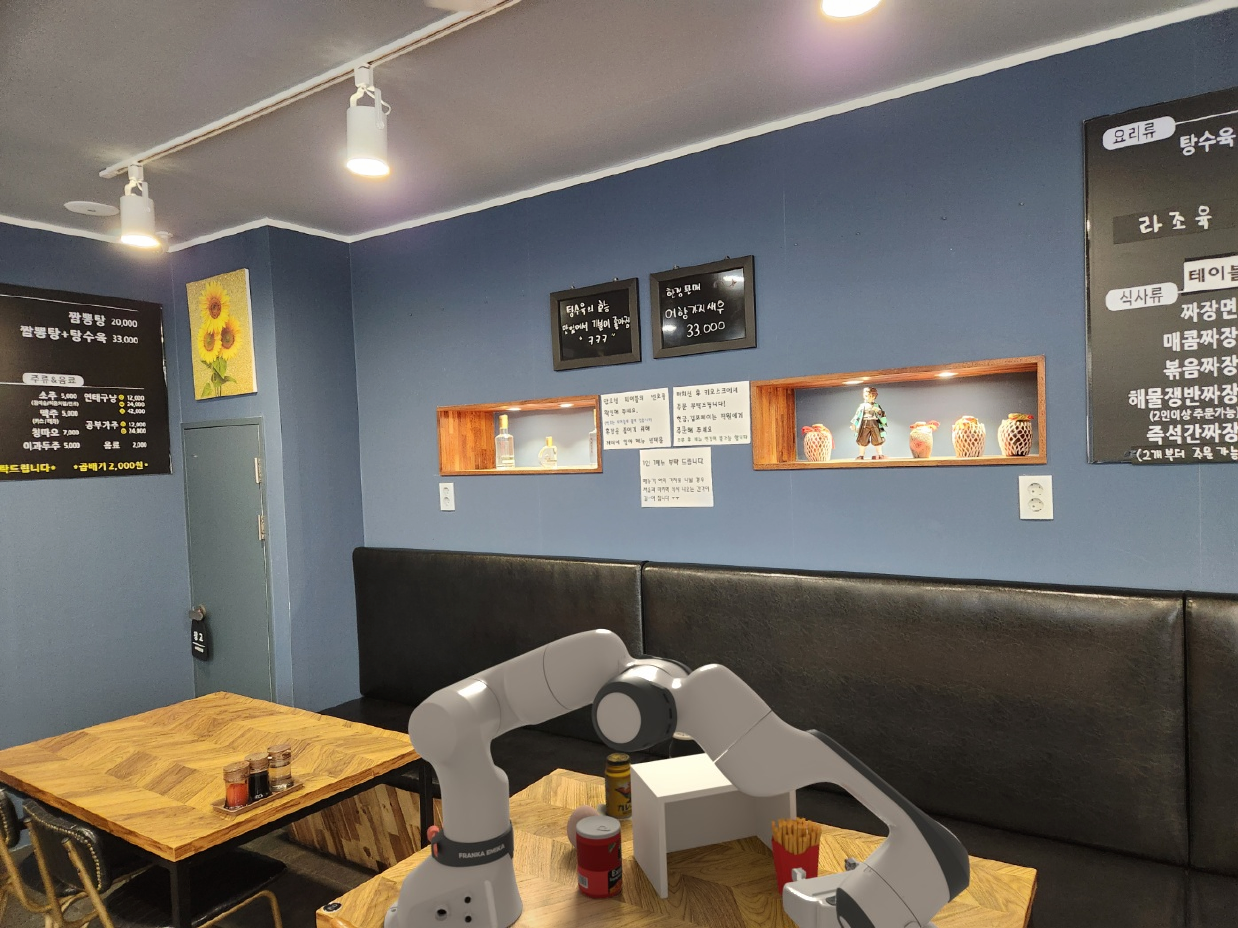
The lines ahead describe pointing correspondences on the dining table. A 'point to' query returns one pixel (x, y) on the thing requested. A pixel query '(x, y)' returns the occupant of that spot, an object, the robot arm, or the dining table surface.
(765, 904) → the dining table surface
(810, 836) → the french fries
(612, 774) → the condiment
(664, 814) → the white step stool
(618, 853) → the canned food
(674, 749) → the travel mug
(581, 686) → the robot arm
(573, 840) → the egg
